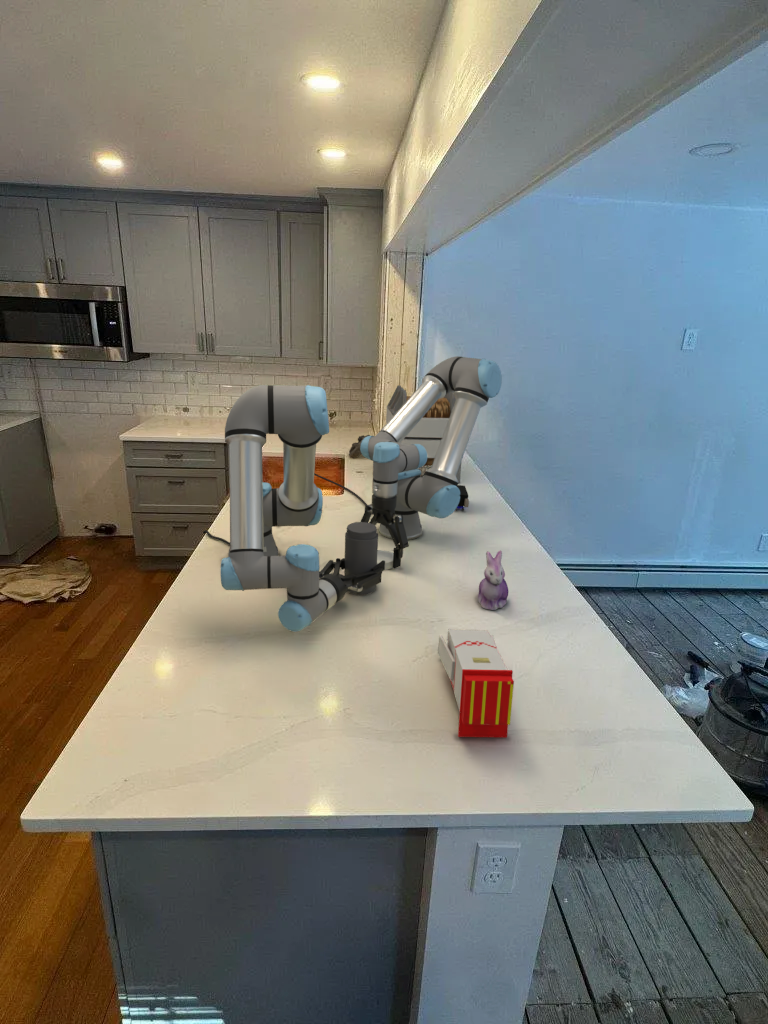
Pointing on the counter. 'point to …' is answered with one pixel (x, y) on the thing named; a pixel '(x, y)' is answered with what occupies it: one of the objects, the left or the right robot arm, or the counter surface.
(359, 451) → the fossil
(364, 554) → the jar
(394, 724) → the counter surface
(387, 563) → the lid
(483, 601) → the figurine
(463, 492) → the figurine character
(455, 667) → the toy
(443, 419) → the grey and brown box
